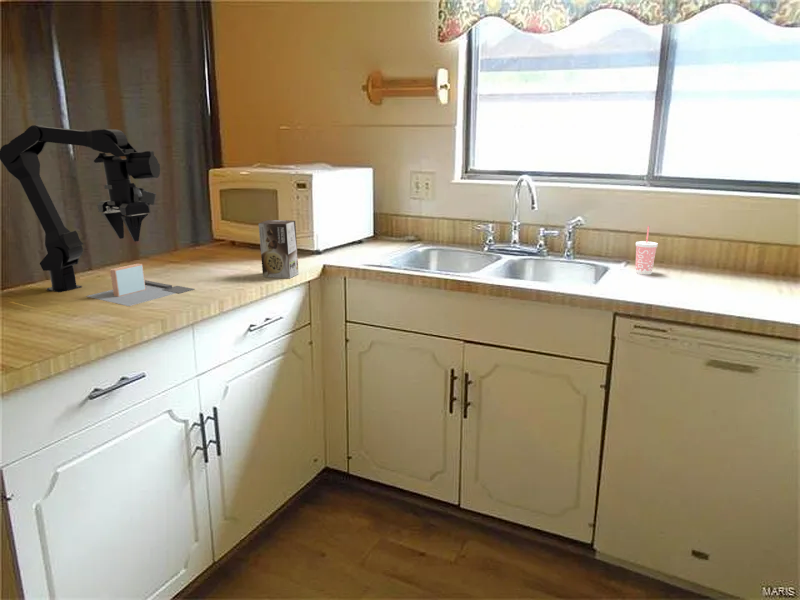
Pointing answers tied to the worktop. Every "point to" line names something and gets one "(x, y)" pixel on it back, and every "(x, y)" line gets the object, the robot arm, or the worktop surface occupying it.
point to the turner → (169, 287)
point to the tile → (127, 279)
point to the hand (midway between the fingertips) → (128, 239)
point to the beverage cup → (645, 256)
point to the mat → (133, 296)
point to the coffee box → (278, 248)
